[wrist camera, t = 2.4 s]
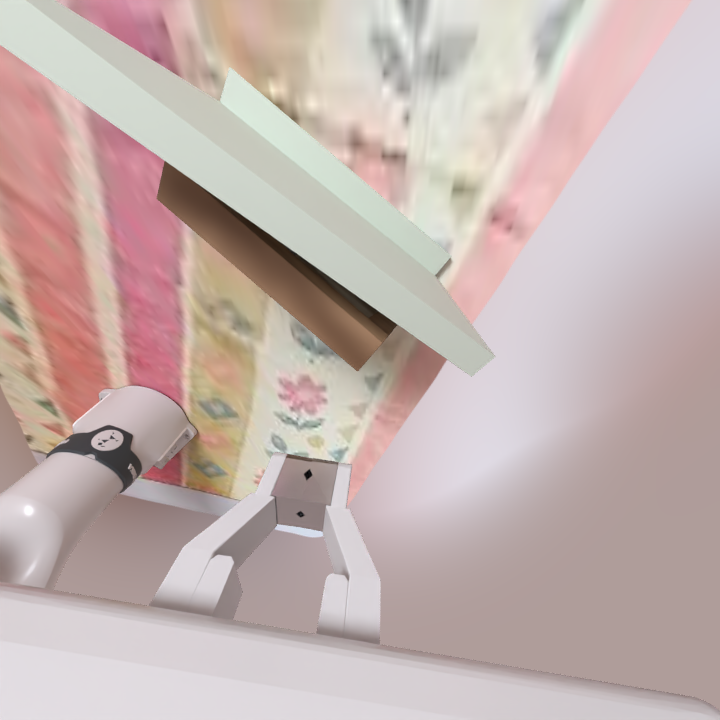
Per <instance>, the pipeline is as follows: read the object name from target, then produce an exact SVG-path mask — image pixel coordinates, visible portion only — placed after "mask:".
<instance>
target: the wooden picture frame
mask: <svg viewBox="0 0 720 720" xmlns="http://www.w3.org/2000/svg"><path fill="white" fill-rule="evenodd" d="M157 200H159V201H160V202H161V203H162V204H163V205H164V206H166V207H167V208H168V209H169V210H170V211H171V212H173V213H174V214H175V215H176V216H177V217H178V218H180V219H181V220H182V221H183V222H184V223H185V224H187V225H188V226H189V227H190V228H191V229H192V230H194V231H195V232H196V233H197V234H198V235H199V236H201V237H202V238H203V239H204V240H205V241H206V242H208V243H209V244H210V245H211V246H212V247H213V248H214V249H216V250H217V251H218V252H219V253H220V254H221V255H223V256H224V257H225V258H226V259H227V260H228V261H230V262H231V263H232V264H233V265H234V266H235V267H237V268H238V269H239V270H240V271H241V272H242V273H244V274H245V275H246V276H247V277H248V278H249V279H251V280H252V281H253V282H254V283H255V284H256V285H258V286H259V287H260V288H261V289H262V290H263V291H265V292H266V293H267V294H268V295H269V296H270V297H272V298H273V299H274V300H275V301H276V302H277V303H279V304H280V305H281V306H282V307H283V308H284V309H286V310H287V311H288V312H289V313H290V314H291V315H292V316H294V317H295V318H296V319H297V320H298V321H299V322H301V323H302V324H303V325H304V326H305V327H306V328H308V329H309V330H310V331H311V332H312V333H313V334H315V335H316V336H317V337H318V338H319V339H320V340H322V341H323V342H324V343H325V344H326V345H327V346H329V347H330V348H331V349H332V350H333V351H334V352H336V353H337V354H338V355H339V356H340V357H341V358H343V359H344V360H345V361H346V362H347V363H348V364H350V365H351V366H352V367H353V368H354V369H355V370H357V371H359V369H360V368H361V367H362V366H363V365H364V364H365V362H366V361H367V360H368V359H369V358H370V357H371V356H372V354H373V353H374V352H375V351H376V350H377V349H378V347H379V346H380V345H381V344H382V343H383V342H384V340H385V339H386V338H387V337H388V335H389V334H390V333H391V332H392V331H393V329H394V328H395V327H396V326H397V324H396V323H395V322H393V321H392V320H390V319H389V318H388V317H386V316H385V315H383V314H382V313H380V312H379V311H378V310H376V309H375V308H373V307H372V306H371V305H369V304H368V303H366V302H365V301H363V300H362V299H361V298H359V297H358V296H356V295H355V294H353V293H352V292H351V291H349V290H348V289H346V288H345V287H344V286H342V285H341V284H339V283H338V282H336V281H335V280H334V279H332V278H331V277H329V276H328V275H326V274H325V273H324V272H322V271H321V270H319V269H318V268H317V267H315V266H314V265H312V264H311V263H309V262H308V261H307V260H305V259H304V258H302V257H301V256H299V255H298V254H297V253H296V254H295V255H294V254H293V253H291V252H290V251H289V250H288V249H287V246H285V245H284V244H282V243H281V242H280V241H278V240H277V239H275V238H274V237H272V236H271V235H270V234H268V233H267V232H265V231H264V230H263V229H261V228H260V227H258V226H257V225H255V224H254V223H253V222H251V221H250V220H248V219H247V218H246V217H244V216H243V215H241V214H240V213H238V212H237V211H236V210H234V209H233V208H231V207H230V206H228V205H227V204H226V203H224V202H223V201H221V200H220V199H219V198H217V197H216V196H214V195H213V194H211V193H210V192H209V191H207V190H206V189H204V188H203V187H201V186H200V185H199V184H197V183H196V182H194V181H193V180H192V179H190V178H189V177H187V176H186V175H184V174H183V173H182V172H180V171H179V170H177V169H176V168H174V167H173V166H172V165H170V164H169V163H167V162H166V161H165V162H164V167H163V172H162V176H161V181H160V186H159V190H158V195H157Z"/></svg>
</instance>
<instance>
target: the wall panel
mask: <svg viewBox="0 0 720 720" xmlns="http://www.w3.org/2000/svg"><path fill="white" fill-rule="evenodd" d="M0 45H1V46H3V47H4V48H5V49H7V50H8V51H10V52H11V53H13V54H14V55H15V56H17V57H18V58H20V59H21V60H23V61H24V62H25V63H27V64H28V65H30V66H31V67H32V68H34V69H35V70H37V71H38V72H40V73H41V74H42V75H44V76H45V77H47V78H48V79H49V80H51V81H52V82H54V83H55V84H57V85H58V86H59V87H61V88H62V89H64V90H65V91H67V92H68V93H69V94H71V95H72V96H74V97H75V98H76V99H78V100H79V101H81V102H82V103H84V104H85V105H86V106H88V107H89V108H91V109H92V110H94V111H95V112H96V113H98V114H99V115H101V116H102V117H103V118H105V119H106V120H108V121H109V122H111V123H112V124H113V125H115V126H116V127H118V128H119V129H121V130H122V131H123V132H125V133H126V134H128V135H129V136H130V137H132V138H133V139H135V140H136V141H138V142H139V143H140V144H142V145H143V146H145V147H146V148H148V149H149V150H150V151H152V152H153V153H155V154H156V155H157V156H159V157H160V158H162V159H163V160H165V161H166V162H167V163H169V164H170V165H172V166H173V167H174V168H176V169H177V170H179V171H180V172H182V173H183V174H184V175H186V176H187V177H189V178H190V179H192V180H193V181H194V182H196V183H197V184H199V185H200V186H201V187H203V188H204V189H206V190H207V191H209V192H210V193H211V194H213V195H214V196H216V197H217V198H219V199H220V200H221V201H223V202H224V203H226V204H227V205H228V206H230V207H231V208H233V209H234V210H236V211H237V212H238V213H240V214H241V215H243V216H244V217H246V218H247V219H248V220H250V221H251V222H253V223H254V224H255V225H257V226H258V227H260V228H261V229H263V230H264V231H265V232H267V233H268V234H270V235H271V236H272V237H274V238H275V239H277V240H278V241H280V242H281V243H282V244H284V245H285V246H287V249H288V250H289V251H290V252H291V253H293V254H294V255H295V254H296V253H297V254H298V255H299V256H301V257H302V258H304V259H305V260H307V261H308V262H309V263H311V264H312V265H314V266H315V267H317V268H318V269H319V270H321V271H322V272H324V273H325V274H326V275H328V276H329V277H331V278H332V279H334V280H335V281H336V282H338V283H339V284H341V285H342V286H344V287H345V288H346V289H348V290H349V291H351V292H352V293H353V294H355V295H356V296H358V297H359V298H361V299H362V300H363V301H365V302H366V303H368V304H369V305H371V306H372V307H373V308H375V309H376V310H378V311H379V312H380V313H382V314H383V315H385V316H386V317H388V318H389V319H390V320H392V321H393V322H395V323H396V324H397V325H399V326H400V327H402V328H403V329H405V330H406V331H407V332H409V333H410V334H412V335H413V336H415V337H416V338H417V339H419V340H420V341H422V342H423V343H424V344H426V345H427V346H429V347H430V348H432V349H433V350H434V351H436V352H437V353H439V354H440V355H442V356H443V357H444V358H446V359H447V360H449V361H450V362H451V363H453V364H454V365H456V366H457V367H459V368H460V369H461V370H463V371H464V372H466V373H467V374H469V375H470V376H471V377H472V376H473V375H474V374H475V373H476V372H478V371H479V370H480V369H481V368H482V367H484V366H485V365H486V364H487V363H488V362H490V361H491V360H492V359H493V358H494V357H495V355H494V354H493V353H492V352H491V350H490V349H489V347H488V346H487V345H486V343H485V342H484V341H483V339H482V338H481V337H480V335H479V334H478V333H477V331H476V330H475V328H474V327H473V326H472V324H471V323H470V322H469V320H468V319H467V318H466V316H465V315H464V314H463V312H462V311H461V310H460V308H459V307H458V306H457V304H456V303H455V302H454V300H453V299H452V298H451V296H450V295H449V294H448V292H447V291H446V289H445V288H444V287H443V285H442V284H441V283H440V281H439V280H438V279H437V277H436V276H435V275H436V274H437V273H438V272H439V270H440V269H441V268H442V267H443V266H444V264H445V263H446V262H447V261H448V260H449V259H450V257H451V255H450V254H449V253H447V252H446V251H445V250H444V249H443V248H442V247H440V246H439V245H438V244H437V243H436V242H434V241H433V240H432V239H431V238H430V237H429V236H427V235H426V234H425V233H424V232H423V231H422V230H420V229H419V228H418V227H417V226H416V225H415V224H413V223H412V222H411V221H410V220H409V219H408V218H406V217H405V216H404V215H403V214H402V213H400V212H399V211H398V210H397V209H396V208H395V207H393V206H392V205H391V204H390V203H389V202H388V201H386V200H385V199H384V198H383V197H382V196H381V195H379V194H378V193H377V192H376V191H375V190H374V189H372V188H371V187H370V186H369V185H368V184H366V183H365V182H364V181H363V180H362V179H361V178H359V177H358V176H357V175H356V174H355V173H354V172H352V171H351V170H350V169H349V168H348V167H347V166H345V165H344V164H343V163H342V162H341V161H340V160H338V159H337V158H336V157H335V156H334V155H332V154H331V153H330V152H329V151H328V150H327V149H325V148H324V147H323V146H322V145H321V144H320V143H318V142H317V141H316V140H315V139H314V138H313V137H311V136H310V135H309V134H308V133H307V132H306V131H304V130H303V129H302V128H301V127H300V126H298V125H297V124H296V123H295V122H294V121H293V120H291V119H290V118H289V117H288V116H287V115H286V114H284V113H283V112H282V111H281V110H280V109H279V108H277V107H276V106H275V105H274V104H273V103H272V102H270V101H269V100H268V99H267V98H266V97H264V96H263V95H262V94H261V93H260V92H259V91H257V90H256V89H255V88H254V87H253V86H252V85H250V84H249V83H248V82H247V81H246V80H245V79H243V78H242V77H241V76H240V75H239V74H237V73H236V72H235V71H234V70H233V69H232V68H229V71H228V75H227V78H226V82H225V85H224V89H223V93H222V96H221V100H220V102H219V101H218V100H216V99H215V98H213V97H211V96H210V95H208V94H206V93H205V92H203V91H202V90H200V89H198V88H197V87H195V86H193V85H192V84H190V83H189V82H187V81H185V80H184V79H182V78H180V77H179V76H177V75H176V74H174V73H172V72H171V71H169V70H167V69H166V68H164V67H163V66H161V65H159V64H158V63H156V62H154V61H153V60H151V59H150V58H148V57H146V56H145V55H143V54H141V53H140V52H138V51H137V50H135V49H133V48H132V47H130V46H128V45H127V44H125V43H124V42H122V41H120V40H119V39H117V38H115V37H114V36H112V35H111V34H109V33H107V32H106V31H104V30H102V29H101V28H99V27H98V26H96V25H94V24H93V23H91V22H89V21H88V20H86V19H85V18H83V17H81V16H80V15H78V14H76V13H75V12H73V11H72V10H70V9H68V8H67V7H65V6H63V5H62V4H60V3H59V2H57V1H55V0H0Z"/></svg>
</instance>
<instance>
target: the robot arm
mask: <svg viewBox="0 0 720 720" xmlns="http://www.w3.org/2000/svg"><path fill="white" fill-rule="evenodd" d="M99 399H100V402H99V403H97V404H96V405H95V406H94V407H92V408H91V409H90V410H89V411H88V412H86V413H85V414H84V415H83V416H82V417H80V418H79V419H78V420H77V421H76V422H75V423H74V424H73V435H71V436H69V437H68V438H67V439H65V440H64V441H62V442H60V443H59V444H58V445H57V446H56V447H55V448H54V449H53V450H52V451H51V452H49V453H48V454H47V457H46V459H45V460H44V461H43V462H41V463H40V464H39V465H38V466H36V467H35V468H34V469H32V470H31V471H30V472H28V473H27V474H26V475H25V476H23V477H22V478H21V479H19V480H18V481H17V482H16V483H15V484H13V485H12V486H10V487H9V488H8V489H7V490H5V491H4V492H3V493H1V494H0V720H720V710H718V709H717V708H716V707H714V706H713V705H711V704H710V703H708V702H706V701H704V700H701V699H698V698H695V697H690V696H685V695H680V694H674V693H668V692H662V691H656V690H650V689H644V688H637V687H632V686H626V685H620V684H614V683H608V682H602V681H596V680H590V679H584V678H578V677H572V676H566V675H560V674H554V673H548V672H542V671H535V670H530V669H524V668H518V667H512V666H505V665H499V664H493V663H488V662H482V661H476V660H470V659H464V658H458V657H452V656H446V655H440V654H434V653H428V652H422V651H416V650H410V649H404V648H398V647H392V646H386V645H380V587H381V580H380V578H379V576H378V573H377V571H376V569H375V566H374V564H373V561H372V559H371V557H370V554H369V552H368V550H367V547H366V545H365V543H364V540H363V538H362V535H361V533H360V531H359V528H358V526H357V524H356V522H355V519H354V517H353V514H352V512H351V510H350V509H347V500H348V493H349V485H350V477H351V470H352V464H346V463H339V462H335V461H328V460H322V459H315V458H307V457H301V456H296V455H290V454H285V453H279V452H274V454H273V455H272V457H271V459H270V461H269V463H268V466H267V468H266V470H265V472H264V474H263V477H262V479H261V481H260V483H259V486H258V488H257V490H256V492H255V493H250V494H249V495H248V496H246V497H245V498H244V499H243V500H241V501H240V502H239V503H238V504H236V505H235V506H234V507H233V508H231V509H230V510H229V511H228V512H226V513H225V514H224V515H223V516H221V517H220V518H219V519H218V520H217V521H215V522H214V523H213V524H212V525H210V526H209V527H208V528H207V529H205V530H204V531H203V532H202V533H200V534H199V535H198V536H197V537H196V538H194V539H193V540H192V541H190V542H189V543H188V544H187V545H185V546H184V547H183V549H182V550H181V552H180V554H179V556H178V557H177V559H176V561H175V562H174V564H173V566H172V568H171V569H170V571H169V573H168V574H167V576H166V578H165V580H164V581H163V583H162V585H161V586H160V588H159V590H158V591H157V593H156V595H155V596H154V598H153V600H152V601H151V603H150V605H149V606H147V605H141V604H134V603H129V602H122V601H116V600H110V599H105V598H98V597H93V596H87V595H81V594H75V593H69V592H62V591H56V590H54V587H55V585H56V583H57V580H58V578H59V576H60V574H61V572H62V570H63V568H64V566H65V564H66V562H67V560H68V558H69V557H70V554H71V553H72V552H73V550H74V548H75V547H76V545H77V544H78V543H79V541H80V540H81V538H82V537H83V535H84V534H85V533H86V532H87V530H88V529H89V528H90V527H91V525H92V524H93V523H94V522H95V521H96V520H97V518H98V517H99V516H100V515H101V514H102V512H103V511H104V510H105V509H106V508H107V506H108V505H109V504H110V503H111V502H112V501H113V500H114V498H115V497H116V496H117V495H118V494H119V493H122V492H123V491H125V490H126V489H127V488H128V487H129V486H130V485H131V484H132V483H133V482H134V481H135V480H136V478H137V477H138V476H139V475H141V474H145V473H147V472H148V471H149V469H150V468H151V467H152V466H155V467H157V468H159V469H162V468H163V467H164V466H165V465H166V463H167V462H168V461H169V460H170V459H171V458H172V457H174V456H175V455H176V454H177V453H178V452H179V451H180V450H181V449H182V448H183V447H184V446H185V445H186V444H187V443H188V442H189V441H190V440H191V439H192V438H193V437H194V436H195V435H196V434H197V430H196V429H195V428H194V427H193V426H192V425H191V424H190V423H189V421H188V420H187V418H186V415H185V414H184V412H183V411H182V409H181V408H180V407H179V406H178V405H177V404H176V403H175V402H174V401H173V400H171V399H170V398H168V397H167V396H165V395H163V394H162V393H160V392H157V391H155V390H153V389H150V388H146V387H141V386H126V387H123V388H120V389H104V390H102V391H101V392H100V393H99ZM338 463H339V464H338ZM277 524H281V525H288V526H296V527H302V528H307V529H312V530H317V531H322V532H323V536H324V539H325V543H326V546H327V550H328V553H329V557H330V561H331V564H332V568H333V571H334V574H330V575H329V576H328V577H327V578H326V582H325V587H324V593H323V599H322V604H321V610H320V616H319V622H318V627H317V634H314V633H308V632H302V631H296V630H290V629H284V628H278V627H272V626H266V625H260V624H254V623H248V622H242V621H236V620H233V618H234V615H235V612H236V609H237V607H238V604H239V601H240V598H241V596H242V593H243V591H242V588H241V584H240V581H239V578H238V574H237V571H236V570H237V569H238V568H239V567H240V566H241V565H242V564H243V562H244V561H245V560H246V559H247V558H248V557H249V556H250V555H251V554H252V552H253V551H254V550H255V549H256V548H257V547H258V546H259V545H260V544H261V543H262V542H263V540H264V539H265V538H266V537H267V536H268V535H269V534H270V533H271V532H272V530H273V529H274V528H275V527H276V526H277Z"/></svg>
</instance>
